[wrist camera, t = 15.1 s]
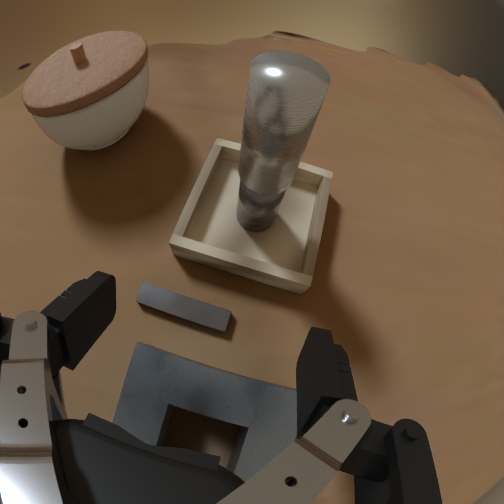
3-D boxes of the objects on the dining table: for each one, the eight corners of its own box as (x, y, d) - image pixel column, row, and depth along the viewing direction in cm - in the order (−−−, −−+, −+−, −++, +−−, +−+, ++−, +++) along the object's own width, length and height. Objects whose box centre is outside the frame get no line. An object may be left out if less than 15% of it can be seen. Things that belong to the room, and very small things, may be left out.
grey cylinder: (227, 227, 24) (240, 80, 11) (241, 190, 25) (262, 44, 12) (271, 240, 24) (326, 104, 11) (282, 202, 25) (333, 64, 12)
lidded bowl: (178, 100, 30) (172, 16, 19) (114, 186, 25) (75, 96, 15) (97, 85, 30) (78, 17, 20) (34, 157, 25) (-8, 89, 15)
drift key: (139, 304, 22) (135, 300, 21) (146, 285, 22) (142, 281, 21) (224, 333, 22) (225, 331, 21) (230, 313, 22) (231, 310, 21)
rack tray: (173, 255, 23) (169, 242, 21) (216, 155, 27) (217, 138, 25) (301, 294, 23) (310, 286, 21) (324, 187, 27) (332, 172, 25)
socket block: (115, 468, 16) (98, 485, 13) (151, 345, 20) (137, 341, 17) (253, 509, 16) (259, 533, 13) (293, 388, 20) (308, 393, 17)
